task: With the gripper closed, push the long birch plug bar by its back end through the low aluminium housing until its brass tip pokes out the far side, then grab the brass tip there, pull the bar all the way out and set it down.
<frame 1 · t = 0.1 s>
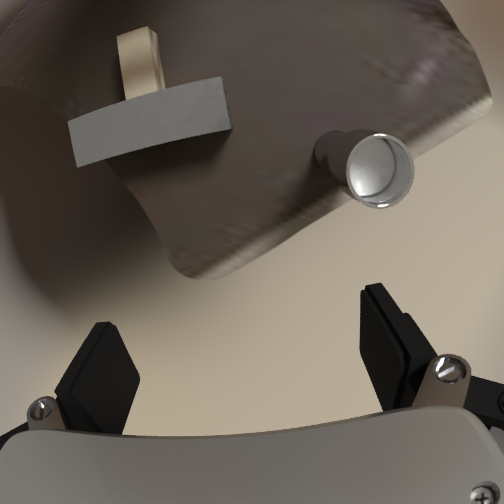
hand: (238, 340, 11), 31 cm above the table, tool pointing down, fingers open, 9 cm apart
beer glass: (336, 153, 39), on the table
plug bar: (148, 81, 35), on the table
housing: (155, 121, 37), on the table
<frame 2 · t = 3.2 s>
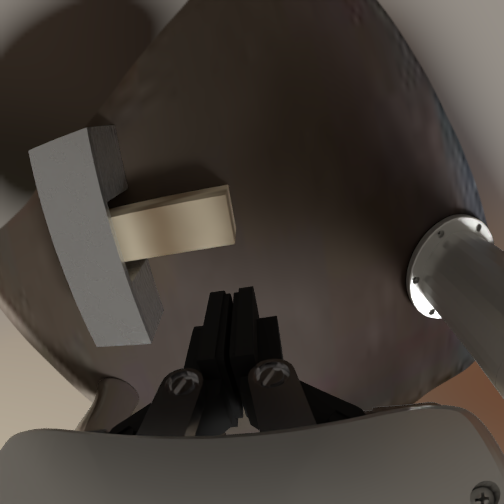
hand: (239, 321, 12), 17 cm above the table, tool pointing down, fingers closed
beer glass: (118, 391, 38), on the table
plug bar: (162, 218, 28), on the table
housing: (110, 229, 29), on the table
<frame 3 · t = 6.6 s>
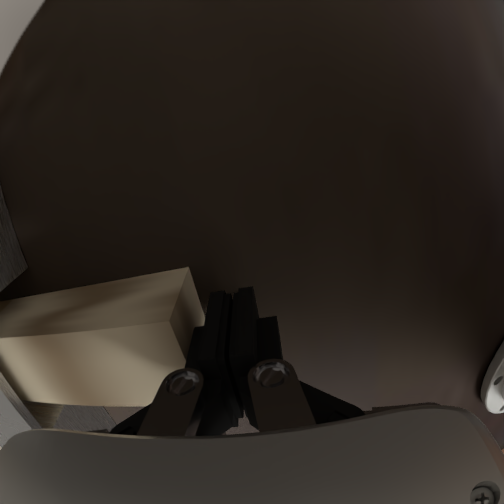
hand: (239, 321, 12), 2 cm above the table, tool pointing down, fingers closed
plug bar: (84, 322, 15), on the table, touching gripper
housing: (20, 327, 15), on the table
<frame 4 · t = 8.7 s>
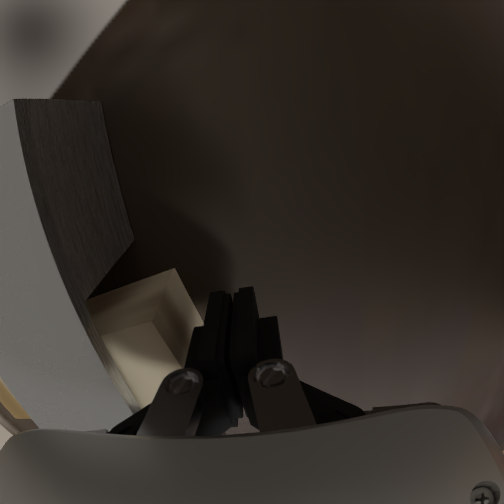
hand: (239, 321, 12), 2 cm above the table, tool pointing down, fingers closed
plug bar: (88, 336, 15), on the table
housing: (104, 316, 14), on the table
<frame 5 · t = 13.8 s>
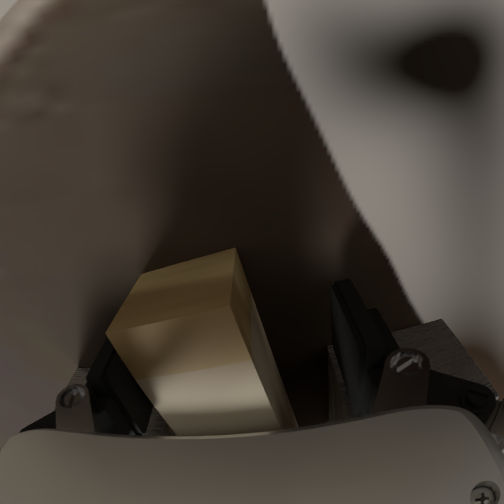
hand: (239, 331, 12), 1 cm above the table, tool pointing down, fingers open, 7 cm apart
plug bar: (237, 378, 15), on the table, touching gripper
housing: (260, 398, 15), on the table
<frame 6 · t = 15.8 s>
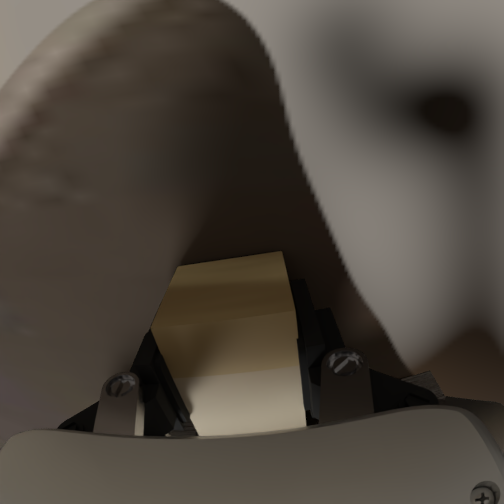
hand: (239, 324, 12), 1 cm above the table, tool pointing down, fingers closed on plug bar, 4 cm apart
plug bar: (255, 380, 15), on the table, touching gripper
housing: (269, 435, 17), on the table
when the fingers open (1 cm above the table, at t = 17.4 s): plug bar stays where it is, on the table.
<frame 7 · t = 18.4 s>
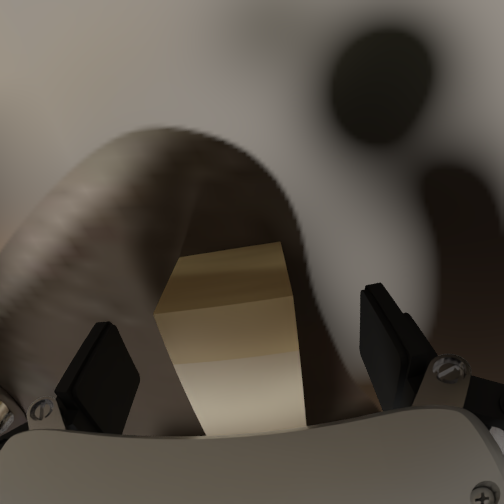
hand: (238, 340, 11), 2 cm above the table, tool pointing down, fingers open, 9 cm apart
plug bar: (255, 370, 15), on the table
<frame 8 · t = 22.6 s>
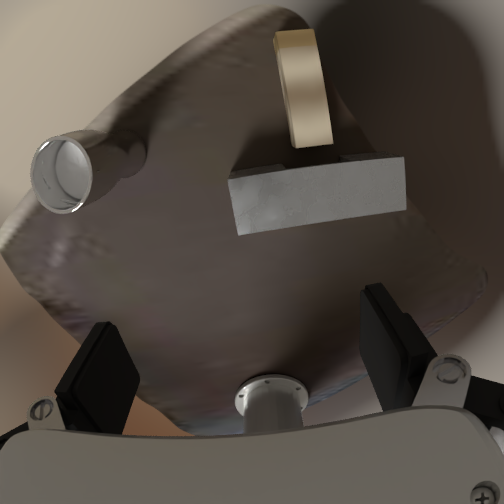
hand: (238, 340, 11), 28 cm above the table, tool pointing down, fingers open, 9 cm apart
beer glass: (124, 153, 36), on the table
plug bar: (299, 89, 33), on the table
housing: (313, 183, 37), on the table
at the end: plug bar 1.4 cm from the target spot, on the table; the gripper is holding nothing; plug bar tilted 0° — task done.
